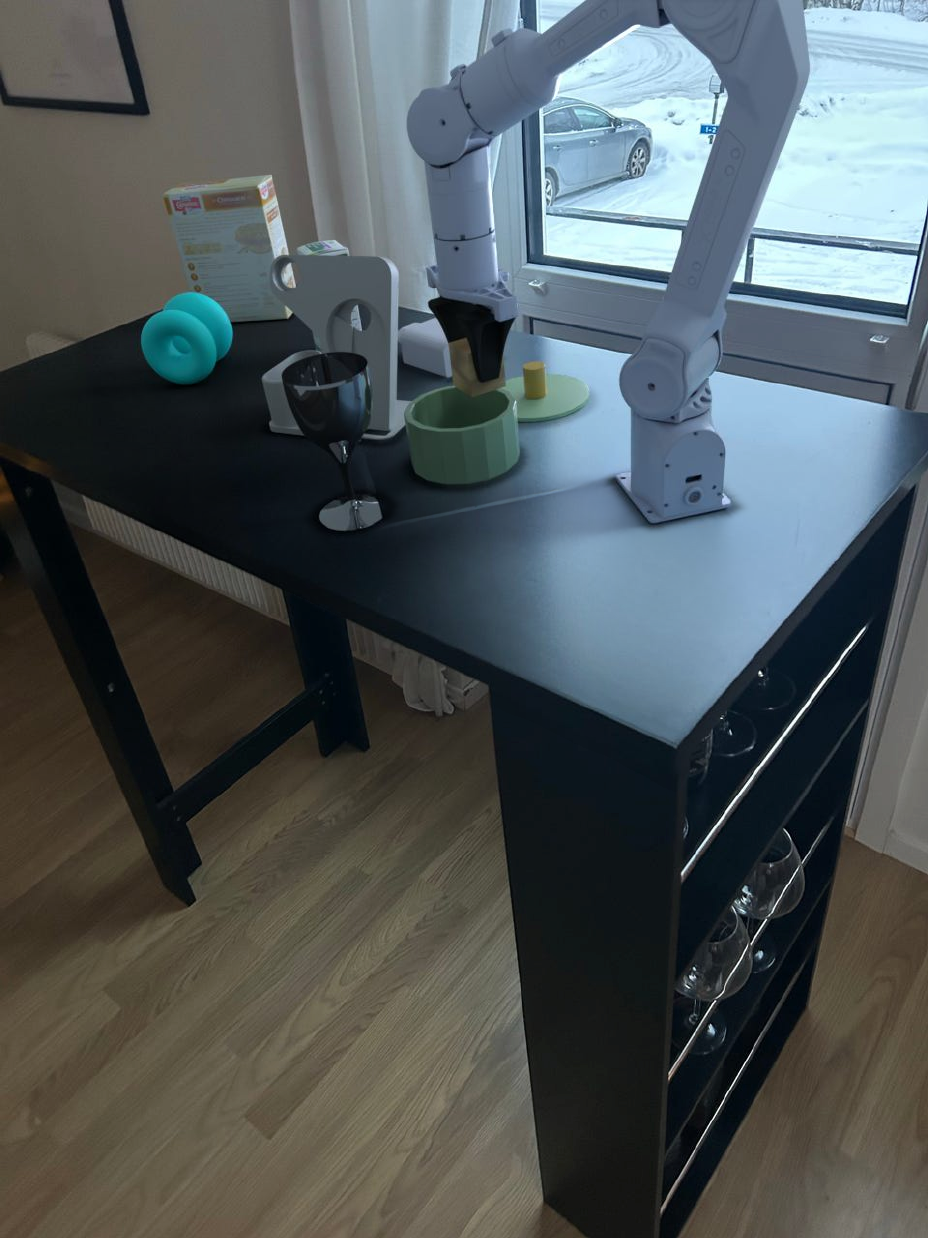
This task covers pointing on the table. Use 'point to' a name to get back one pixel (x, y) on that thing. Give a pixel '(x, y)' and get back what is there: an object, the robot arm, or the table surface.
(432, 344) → the charger
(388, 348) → the phone holder
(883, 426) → the table surface
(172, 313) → the turquoise yo-yo
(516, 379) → the lid
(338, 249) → the syrup box
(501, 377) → the block
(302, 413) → the wine glass
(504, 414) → the tin
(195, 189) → the coffeecake box
